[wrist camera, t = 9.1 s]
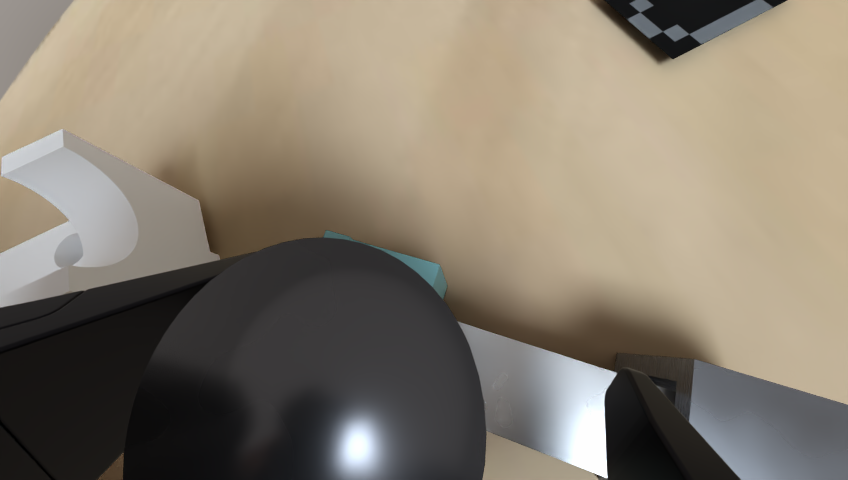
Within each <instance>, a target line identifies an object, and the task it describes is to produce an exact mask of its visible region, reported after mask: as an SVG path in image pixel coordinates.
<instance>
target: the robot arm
mask: <svg viewBox="0 0 848 480" xmlns="http://www.w3.org/2000/svg"><path fill="white" fill-rule="evenodd" d="M253 253H256V252H253ZM253 253H248V254H244V255H239V256H235V257H230V258H226V259H221V260H217V261H212V262H208V263H203V264H199V265H194V266H190V267H185V268H181V269H176V270H172V271H167V272H163V273H158V274H154V275H149V276H145V277H140V278H136V279H131V280H127V281H122V282H118V283H113V284H109V285H104V286H100V287H95V288H91V289H87V290H86V291H84V290H82V291H77V292H73V293H68V294H64V295H59V296H54V297H50V298H45V299H40V300H35V301H31V302H26V303H21V304H16V305H11V306H6V307H0V480H97V479H98V478H99V477H100V476H101V475H102V474H103V473H104V472H105V471H106V470H107V469H108V468H109V467H110V466H111V465H112V464H113V463H114V462H115V461H116V460H117V459H118V457H119V456H120V455H121V454H122V453H123V452H124V449H125V442H126V435H127V428H128V423H129V419H130V415H131V411H132V407H133V403H134V399H135V396H136V394H137V391H138V388H139V385H140V382H141V379H142V376H143V374H144V372H145V370H146V368H147V365H148V363H149V361H150V359H151V357H152V355H153V353H154V351H155V349H156V347H157V346H158V344H159V342H160V341H161V339H162V337H163V335H164V334H165V332H166V331H167V329H168V328H169V326H170V325H171V324H172V322H173V321H174V320H175V318H176V317H177V315H178V314H179V313H180V312H181V310H182V309H183V308H184V307H185V306H186V305H187V304H188V302H189V301H190V300H191V299H192V298H193V297H194V296H195V295H196V294H197V293H198V292H199V291H200V290H201V289H202V288H203V287H204V286H205V285H206V284H208V283H209V282H210V281H211V280H212V279H213V278H215V277H216V276H217V275H219V274H220V273H221V272H223V271H224V270H225V269H227V268H228V267H230V266H231V265H233V264H235V263H236V262H238V261H240V260H241V259H243V258H245V257H247V256H249V255H251V254H253ZM604 404H605V438H606V466H607V478H608V480H741V479H740V478H739V477H738V476H737V475H736V473H735V472H734V471H733V470H732V469H731V468H730V467H729V466H728V465H727V463H726V462H725V461H724V460H723V459H722V458H721V457H720V456H719V455H718V453H717V452H716V451H715V450H714V449H713V448H712V447H711V446H710V445H709V444H708V442H707V441H706V440H705V439H704V438H703V437H702V436H701V435H700V434H699V432H698V431H697V430H696V429H695V428H694V427H693V426H692V425H691V424H690V422H689V421H688V420H687V419H686V418H685V417H684V416H683V415H682V414H681V412H680V411H679V410H678V409H677V408H676V407H675V406H674V405H673V404H672V403H671V401H670V400H669V399H668V398H667V397H666V396H665V395H664V394H663V393H662V391H661V390H660V389H659V388H658V387H657V386H656V385H655V384H654V383H653V381H652V380H651V379H650V378H649V377H648V376H647V375H646V374H644V373H643V372H640V371H637V370H634V369H630V368H627V367H623V368H621V369H620V370H619V371H618V373H617V375H616V376H615V378H614V379H613V381H612V382H611V384H610V385H609V387H608V388H607V390H606V393H605V399H604Z"/></svg>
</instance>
